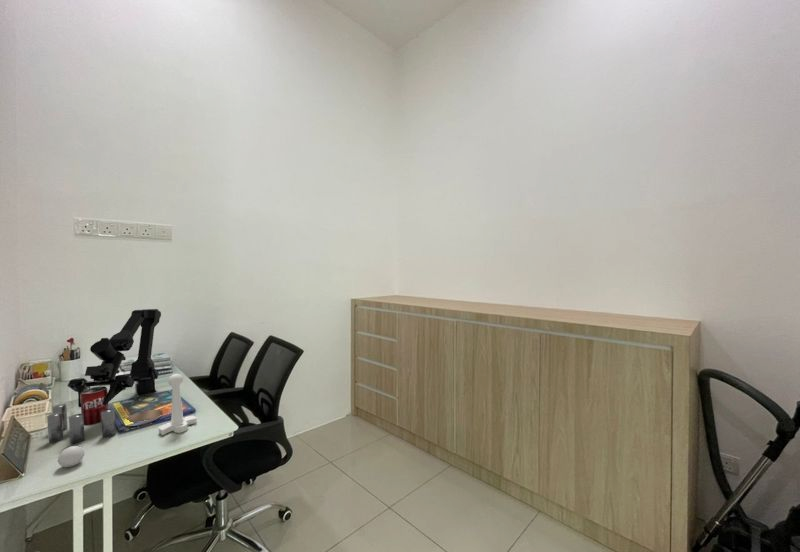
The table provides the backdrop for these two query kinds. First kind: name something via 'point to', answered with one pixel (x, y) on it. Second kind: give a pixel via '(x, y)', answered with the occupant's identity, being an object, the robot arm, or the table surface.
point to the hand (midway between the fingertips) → (92, 405)
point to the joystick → (176, 409)
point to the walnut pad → (145, 415)
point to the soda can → (93, 404)
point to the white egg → (71, 456)
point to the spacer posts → (76, 425)
